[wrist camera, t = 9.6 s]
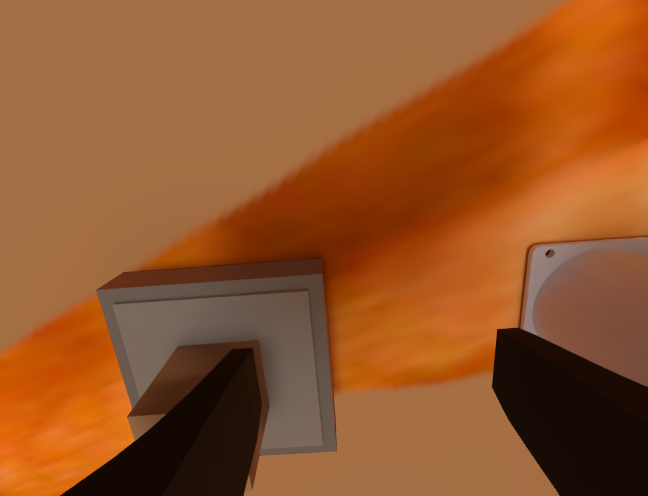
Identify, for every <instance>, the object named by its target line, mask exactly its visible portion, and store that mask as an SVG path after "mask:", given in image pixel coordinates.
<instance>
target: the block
mask: <svg viewBox="0 0 648 496" xmlns="http://www.w3.org/2000/svg"><path fill="white" fill-rule="evenodd" d="M241 348H253V352H254V358H255V364H256V370H257V376H258V383H259V389H260V395H261V401H262V408H261V416H260V425H259V432H258V439H257V443H256V447H255V451H254V456H253V460H252V464H251V468H250V472H249V476H248V480H247V484H246V488H245V491H252V489H253V484H254V479H255V474H256V469H257V465H258V460H259V455H260V450H261V446H262V441H263V436H264V431H265V426H266V421H267V416H268V412H269V407H270V406H269V400H268V394H267V388H266V382H265V376H264V370H263V364H262V358H261V352H260V345H259V340H253V341H240V342H226V343H213V344H199V345H186V346H177V348H176V349H175V351H174V352H173V353H172V355H171V356H170V358H169V359H168V360H167V362H166V363H165V365H164V366H163V367H162V369H161V370H160V372H159V373H158V374H157V376H156V377H155V379H154V380H153V381H152V383H151V384H150V386H149V387H148V388H147V390H146V391H145V393H144V394H143V395H142V397H141V398H140V400H139V401H138V402H137V404H136V405H135V406H134V408H133V409H132V411H131V412H130V413H129V415H128V416H127V418H128V421H129V424H130V427H131V430H132V433H133V436H134V439H135V441H136V440H137V439H138V438H139V437H141V436H142V435H143V434H144V433H145V432H147V431H148V430H149V429H150V428H151V427H152V426H154V425H155V424H156V423H157V422H158V421H159V420H160V419H161V418H163V417H164V416H165V415H166V414H167V413H168V412H169V411H170V410H171V409H172V408H173V407H175V406H176V405H177V404H178V403H179V402H180V401H181V400H182V399H183V398H184V397H185V396H186V395H188V394H189V393H190V392H191V391H192V390H193V389H194V388H195V387H196V386H197V385H198V384H199V383H200V382H201V381H202V380H203V379H204V378H205V377H206V376H207V375H208V373H209V372H210V371H211V370H212V369H213V368H214V367H215V366H216V365H217V364H218V363H219V362H220V361H221V360H222V359H223V358H224V357H225V356H226V355H227V354H228V353H229V352H230V351H231V350H232V349H241Z"/></svg>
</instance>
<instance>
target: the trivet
mask: <svg viewBox="0 0 648 496" xmlns="http://www.w3.org/2000/svg"><path fill="white" fill-rule="evenodd" d="M96 291H97V294H98V297H99V301H100V304H101V307H102V310H103V314H104V317H105V320H106V324H107V327H108V330H109V333H110V337H111V340H112V343H113V346H114V350H115V353H116V356H117V360H118V363H119V366H120V369H121V373H122V376H123V379H124V382H125V386H126V389H127V392H128V396H129V399H130V402H131V405H132V409H133V408H134V406H135V405H136V404H137V402H138V401H139V400H140V398H141V397H142V395H143V394H144V393H145V391H146V390H147V388H148V387H149V386H150V384H151V383H152V381H153V380H154V379H155V377H156V376H157V374H158V373H159V372H160V370H161V369H162V367H163V366H164V365H165V363H166V362H167V360H168V359H169V358H170V356H171V355H172V353H173V352H174V351H175V349H176V348H177V346H186V345H199V344H213V343H226V342H240V341H253V340H259V345H260V352H261V358H262V364H263V370H264V376H265V382H266V388H267V394H268V400H269V406H270V407H269V412H268V416H267V421H266V426H265V431H264V436H263V441H262V446H261V450H260V455H259V456H262V455H279V454H296V453H313V452H329V451H330V452H331V451H337V442H336V420H335V407H334V394H333V382H332V370H331V358H330V346H329V333H328V321H327V309H326V297H325V284H324V272H323V260H322V258H319V259H305V260H291V261H277V262H263V263H249V264H235V265H221V266H207V267H193V268H179V269H165V270H151V271H137V272H123V273H122V274H120V275H118V276H117V277H115V278H114V279H112V280H111V281H109V282H108V283H106V284H105V285H103V286H102V287H100V288H99V289H97V290H96Z"/></svg>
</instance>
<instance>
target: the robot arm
mask: <svg viewBox="0 0 648 496" xmlns="http://www.w3.org/2000/svg"><path fill="white" fill-rule="evenodd" d="M548 250H550V253H549V254H548V255H546V256H545V253H546V251H548ZM492 388H493V390H494V392H495V394H496V396H497V398H498V400H499V402H500V404H501V406H502V408H503V410H504V412H505V414H506V416H507V418H508V419H509V421H510V423H511V424H512V426H513V427H514V429H515V430H516V432H517V433H518V435H519V436H520V438H521V439H522V441H523V442H524V444H525V445H526V447H527V448H528V450H529V451H530V453H531V454H532V456H533V457H534V458H535V460H536V461H537V463H538V464H539V466H540V467H541V469H542V470H543V472H544V473H545V475H546V476H547V477H548V479H549V480H550V482H551V483H552V485H553V486H554V488H555V489H556V490H557V492H558V494H559V495H560V496H648V236H646V237H632V238H618V239H604V240H590V241H576V242H562V243H548V244H537V245H534V246H533V247H532V248H531V249H530V251H529V255H528V264H527V273H526V282H525V290H524V299H523V308H522V317H521V326H520V328H509V329H497V339H496V349H495V360H494V371H493V382H492ZM261 408H262V401H261V395H260V389H259V383H258V376H257V370H256V364H255V358H254V352H253V348H241V349H232V350H231V351H230V352H229V353H228V354H227V355H226V356H225V357H224V358H223V359H222V360H221V361H220V362H219V363H218V364H217V365H216V366H215V367H214V368H213V369H212V370H211V371H210V372H209V373H208V375H207V376H206V377H205V378H204V379H203V380H202V381H201V382H200V383H199V384H198V385H197V386H196V387H195V388H194V389H193V390H192V391H191V392H190V393H189V394H188V395H186V396H185V397H184V398H183V399H182V400H181V401H180V402H179V403H178V404H177V405H176V406H175V407H173V408H172V409H171V410H170V411H169V412H168V413H167V414H166V415H165V416H164V417H163V418H161V419H160V420H159V421H158V422H157V423H156V424H155V425H154V426H152V427H151V428H150V429H149V430H148V431H147V432H145V433H144V434H143V435H142V436H141V437H139V438H138V439H137V440H136V441H134V442H133V443H132V444H131V445H129V446H128V447H127V448H125V449H124V450H123V451H122V452H120V453H119V454H118V455H117V456H115V457H114V458H113V459H111V460H110V461H109V462H107V463H106V464H104V465H103V466H102V467H100V468H99V469H97V470H96V471H94V472H93V473H92V474H90V475H89V476H87V477H86V478H85V479H83V480H82V481H80V482H79V483H77V484H76V485H75V486H73V487H72V488H70V489H69V490H67V491H66V492H65V493H63V494H62V495H60V496H244V491H245V488H246V484H247V480H248V476H249V472H250V468H251V464H252V460H253V456H254V451H255V447H256V443H257V439H258V432H259V425H260V416H261Z"/></svg>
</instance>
